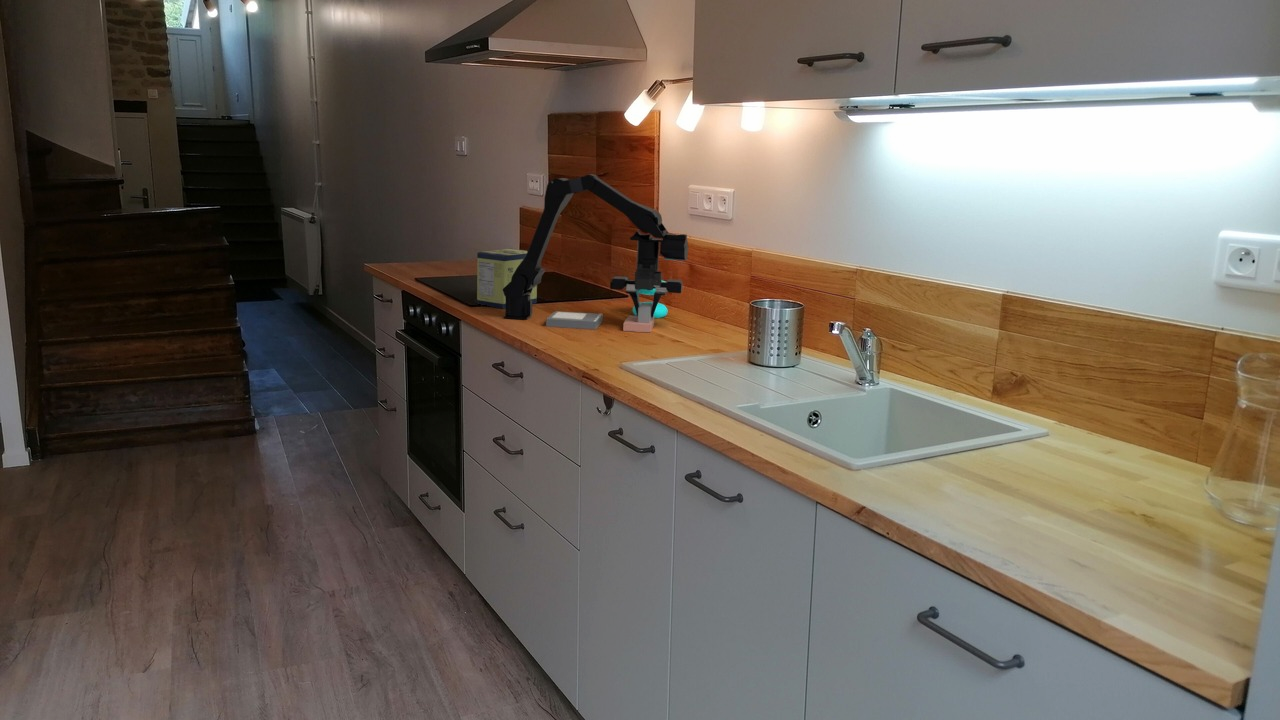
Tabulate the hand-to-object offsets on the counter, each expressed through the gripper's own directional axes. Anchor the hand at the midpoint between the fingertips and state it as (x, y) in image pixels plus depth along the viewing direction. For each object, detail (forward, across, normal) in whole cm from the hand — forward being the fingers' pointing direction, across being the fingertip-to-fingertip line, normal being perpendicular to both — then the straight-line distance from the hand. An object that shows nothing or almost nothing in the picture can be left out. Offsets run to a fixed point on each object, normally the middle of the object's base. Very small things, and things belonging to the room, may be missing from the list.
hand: (645, 316), depth 248 cm
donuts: (+3, 0, +19) cm, 19 cm away
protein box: (+3, -44, +24) cm, 50 cm away
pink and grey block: (+3, -2, 0) cm, 3 cm away
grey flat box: (+3, -19, 0) cm, 19 cm away
